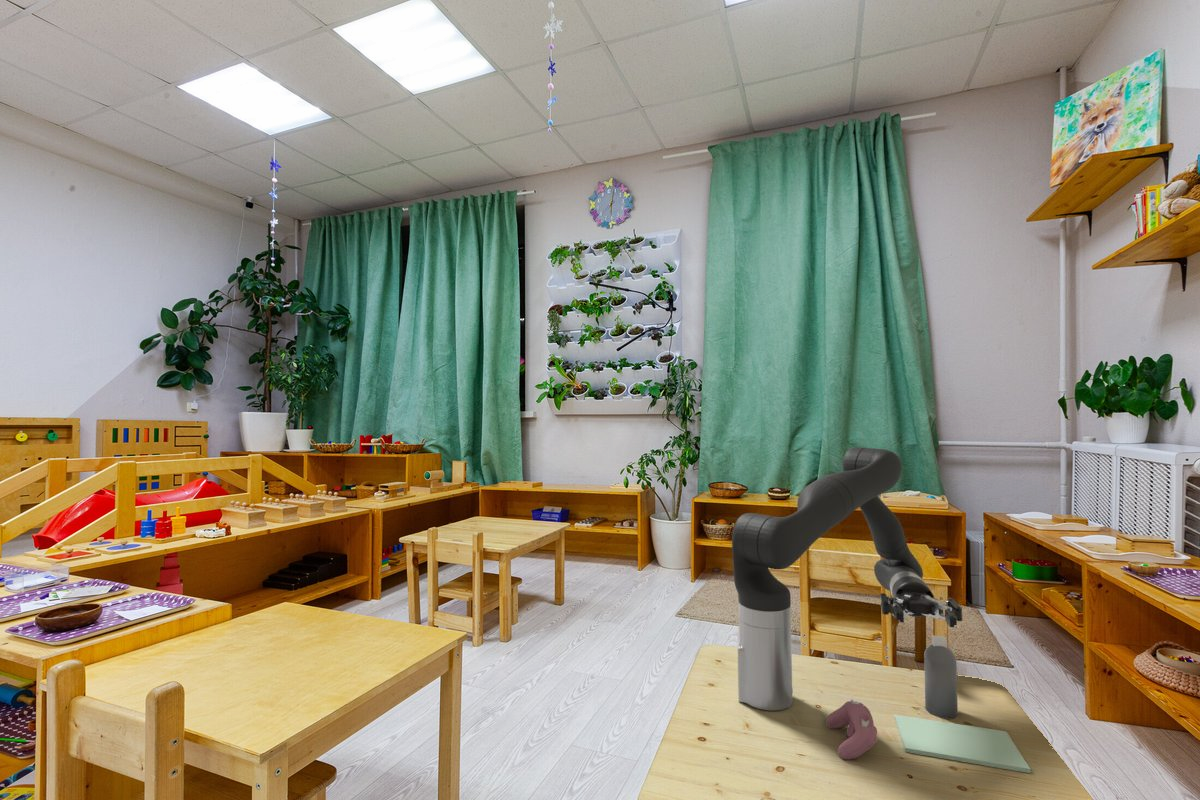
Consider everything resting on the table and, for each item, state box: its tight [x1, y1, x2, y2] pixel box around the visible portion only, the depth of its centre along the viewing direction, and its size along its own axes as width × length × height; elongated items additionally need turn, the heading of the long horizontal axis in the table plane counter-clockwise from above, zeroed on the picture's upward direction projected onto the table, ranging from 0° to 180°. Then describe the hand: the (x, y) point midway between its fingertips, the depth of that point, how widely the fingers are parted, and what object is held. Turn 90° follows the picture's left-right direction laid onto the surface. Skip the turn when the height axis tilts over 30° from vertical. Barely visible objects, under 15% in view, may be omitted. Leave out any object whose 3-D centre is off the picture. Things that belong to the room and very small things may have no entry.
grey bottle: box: [923, 634, 959, 720], centre depth 97 cm, size 5×5×13 cm
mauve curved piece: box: [826, 699, 878, 760], centre depth 88 cm, size 10×5×7 cm, turn 169°
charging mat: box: [894, 714, 1032, 774], centre depth 87 cm, size 16×10×1 cm, turn 70°
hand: (926, 619), depth 108 cm, fingers open, 8 cm apart
